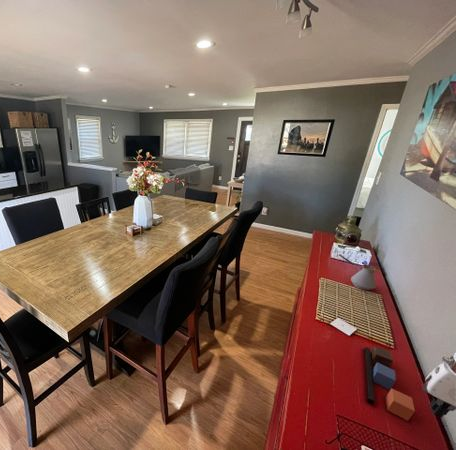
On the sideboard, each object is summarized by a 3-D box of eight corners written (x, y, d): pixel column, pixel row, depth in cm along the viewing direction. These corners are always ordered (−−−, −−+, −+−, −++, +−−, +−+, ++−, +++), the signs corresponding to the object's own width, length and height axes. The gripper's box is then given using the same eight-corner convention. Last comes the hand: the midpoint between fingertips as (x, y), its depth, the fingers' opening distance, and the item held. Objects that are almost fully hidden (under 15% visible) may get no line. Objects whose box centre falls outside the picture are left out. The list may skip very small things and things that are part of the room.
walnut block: (385, 360, 96) (390, 351, 94) (388, 370, 92) (393, 360, 90) (369, 354, 98) (374, 345, 96) (371, 363, 94) (376, 354, 92)
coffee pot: (375, 286, 141) (385, 265, 135) (372, 295, 134) (382, 272, 128) (333, 271, 155) (340, 250, 150) (328, 277, 148) (335, 256, 142)
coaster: (357, 328, 110) (357, 327, 110) (349, 335, 106) (349, 334, 106) (338, 317, 117) (338, 316, 116) (329, 323, 113) (330, 322, 112)
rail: (368, 352, 99) (370, 348, 98) (372, 405, 80) (374, 401, 79) (363, 350, 100) (365, 346, 99) (366, 402, 80) (369, 398, 80)
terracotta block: (405, 407, 79) (412, 397, 77) (408, 421, 76) (415, 411, 74) (385, 397, 82) (391, 388, 80) (387, 410, 78) (393, 400, 76)
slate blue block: (389, 379, 88) (395, 370, 86) (389, 390, 84) (395, 380, 83) (371, 371, 91) (377, 362, 89) (371, 380, 87) (376, 371, 86)
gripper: (434, 364, 67) (404, 405, 74) (521, 401, 58) (477, 442, 66) (428, 347, 72) (400, 386, 79) (506, 377, 64) (467, 418, 71)
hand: (435, 411), depth 72 cm, fingers closed
